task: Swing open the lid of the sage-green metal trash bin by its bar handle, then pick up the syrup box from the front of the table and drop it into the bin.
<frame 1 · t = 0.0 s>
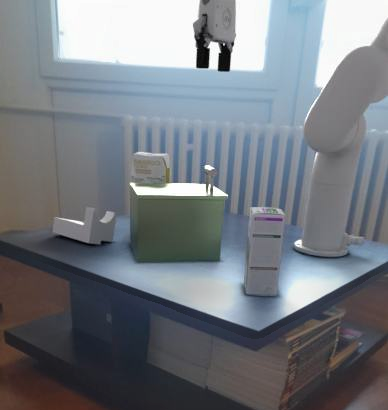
hand: (213, 70, 118), 37 cm above the table, tool pointing down, fingers open, 9 cm apart
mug: (181, 223, 138), on the table
trash bin: (173, 252, 111), on the table
bracket: (85, 239, 119), on the table
syrup box: (259, 291, 91), on the table
juice carton: (150, 234, 125), on the table
bin lid: (177, 179, 105), point 16 cm above the table, hinge at 0.0°
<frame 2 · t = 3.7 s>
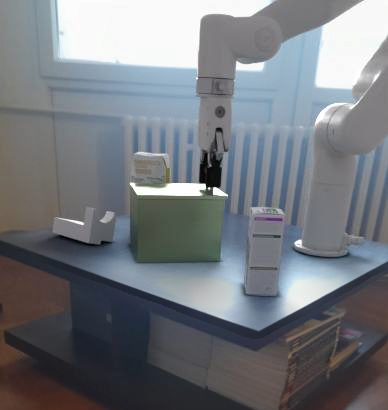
hand: (209, 184, 106), 15 cm above the table, tool pointing down, fingers closed on bin lid, 5 cm apart
bin lid: (177, 179, 105), point 16 cm above the table, hinge at 0.0°, touching gripper
everything else where it was.
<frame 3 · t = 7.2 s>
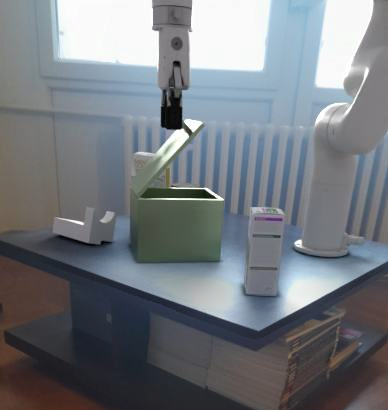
hand: (171, 127, 100), 25 cm above the table, tool pointing down, fingers closed on bin lid, 5 cm apart
bin lid: (155, 148, 101), point 22 cm above the table, hinge at 47.1°, touching gripper
everything else where it was.
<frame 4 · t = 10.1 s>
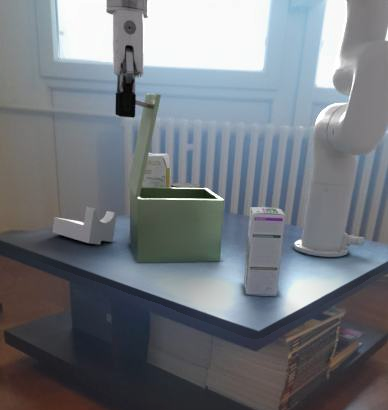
hand: (125, 115, 97), 27 cm above the table, tool pointing down, fingers open, 5 cm apart
bin lid: (131, 141, 99), point 23 cm above the table, hinge at 77.8°
everything else where it was.
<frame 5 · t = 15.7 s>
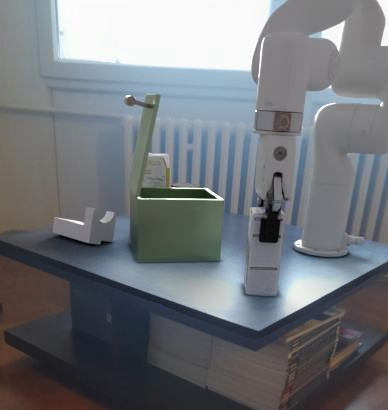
hand: (265, 236, 87), 10 cm above the table, tool pointing down, fingers closed on syrup box, 5 cm apart
syrup box: (259, 291, 91), on the table, touching gripper
everything else where it was.
when the fingers open (21 cm above the table, at t = 21.9 s): syrup box drops 9 cm, resting on trash bin.
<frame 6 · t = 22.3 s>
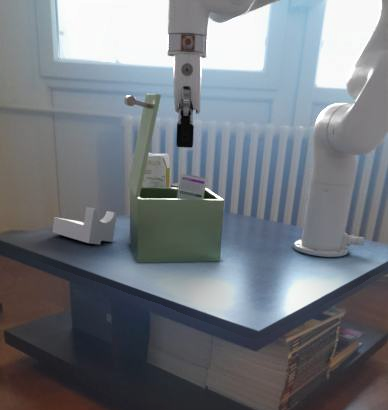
hand: (184, 145, 102), 22 cm above the table, tool pointing down, fingers open, 9 cm apart
syrup box: (180, 244, 111), point 2 cm above the table, touching trash bin
everything else where it was.
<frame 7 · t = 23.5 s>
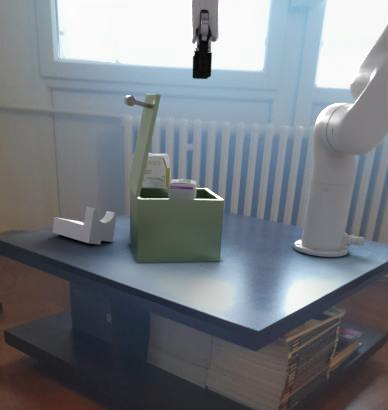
hand: (201, 77, 98), 35 cm above the table, tool pointing down, fingers open, 9 cm apart
syrup box: (180, 249, 111), point 1 cm above the table, touching trash bin
everything else where it was.
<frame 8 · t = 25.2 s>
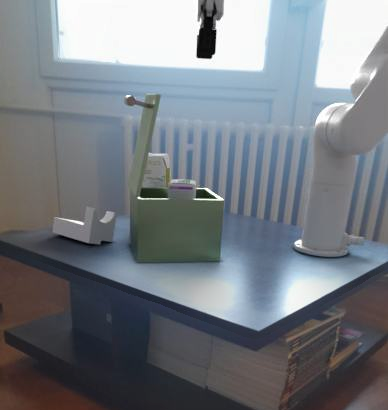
hand: (205, 56, 96), 38 cm above the table, tool pointing down, fingers open, 9 cm apart
nothing on the table moved.
at the end: bin lid at +78° (first picture: +0°); syrup box inside the target area in the trash bin (1.6 cm from its centre), point 0.6 cm above the trash bin's base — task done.
